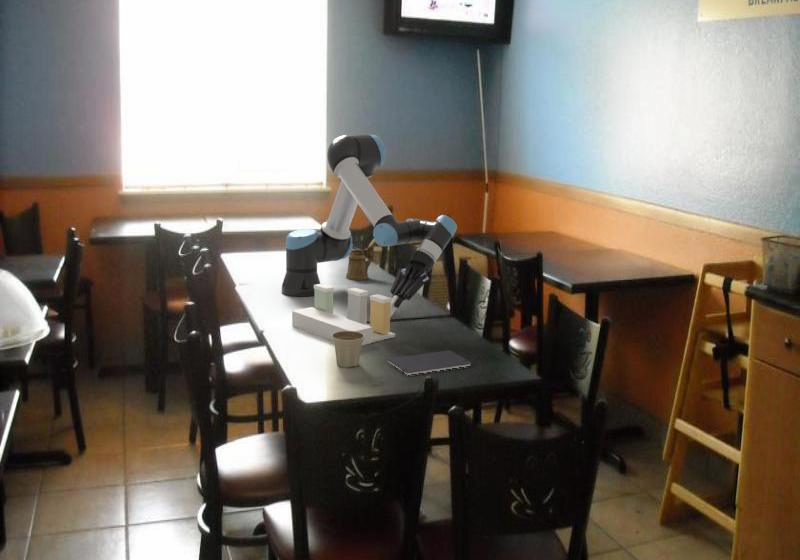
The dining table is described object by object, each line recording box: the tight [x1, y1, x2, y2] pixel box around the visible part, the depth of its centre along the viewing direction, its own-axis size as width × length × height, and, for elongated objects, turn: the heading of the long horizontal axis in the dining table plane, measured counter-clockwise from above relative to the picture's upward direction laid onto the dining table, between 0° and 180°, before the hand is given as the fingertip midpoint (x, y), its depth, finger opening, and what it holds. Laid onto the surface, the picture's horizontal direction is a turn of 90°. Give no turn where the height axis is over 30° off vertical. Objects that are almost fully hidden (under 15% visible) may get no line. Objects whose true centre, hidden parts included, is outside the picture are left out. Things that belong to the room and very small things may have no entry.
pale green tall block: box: [313, 283, 335, 314], centre depth 270 cm, size 3×6×11 cm, turn 44°
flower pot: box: [331, 331, 365, 368], centre depth 232 cm, size 9×9×9 cm
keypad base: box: [291, 306, 396, 346], centre depth 263 cm, size 18×30×5 cm, turn 44°
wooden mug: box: [345, 238, 377, 281], centre depth 337 cm, size 9×14×18 cm, turn 99°
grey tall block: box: [346, 287, 369, 325], centre depth 266 cm, size 3×6×11 cm, turn 44°
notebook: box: [385, 349, 472, 376], centre depth 235 cm, size 13×2×21 cm
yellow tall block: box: [369, 293, 392, 334], centre depth 259 cm, size 3×6×11 cm, turn 44°
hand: (387, 314), depth 261 cm, fingers closed
